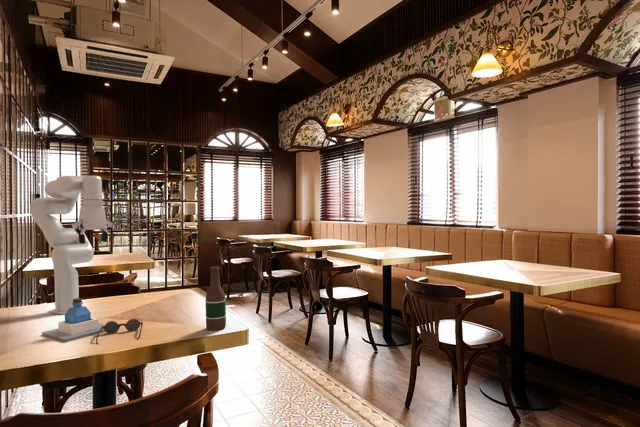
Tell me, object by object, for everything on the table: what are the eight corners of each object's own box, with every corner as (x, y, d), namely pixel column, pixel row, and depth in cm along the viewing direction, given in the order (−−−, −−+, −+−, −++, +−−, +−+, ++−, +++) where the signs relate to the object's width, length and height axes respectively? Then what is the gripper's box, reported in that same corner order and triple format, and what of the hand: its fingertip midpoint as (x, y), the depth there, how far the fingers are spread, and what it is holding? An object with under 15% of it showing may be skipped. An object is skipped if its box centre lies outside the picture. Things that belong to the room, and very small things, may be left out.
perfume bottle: (75, 332, 153) (74, 301, 153) (65, 331, 156) (64, 299, 155) (90, 328, 158) (90, 297, 158) (80, 326, 161) (79, 296, 161)
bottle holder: (42, 334, 155) (41, 323, 154) (90, 323, 170) (89, 312, 170) (65, 342, 145) (65, 329, 145) (114, 329, 160) (113, 318, 160)
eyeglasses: (143, 329, 160) (142, 317, 160) (140, 340, 146) (140, 327, 146) (101, 334, 155) (101, 321, 155) (94, 346, 141) (94, 332, 141)
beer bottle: (208, 332, 153) (206, 268, 153) (204, 327, 160) (202, 266, 160) (228, 328, 157) (227, 267, 157) (223, 324, 164) (222, 265, 164)
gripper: (107, 204, 187) (108, 241, 188) (67, 204, 173) (68, 244, 173) (116, 203, 183) (117, 241, 183) (76, 203, 169) (77, 244, 169)
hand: (93, 242), depth 178 cm, fingers open, 9 cm apart
